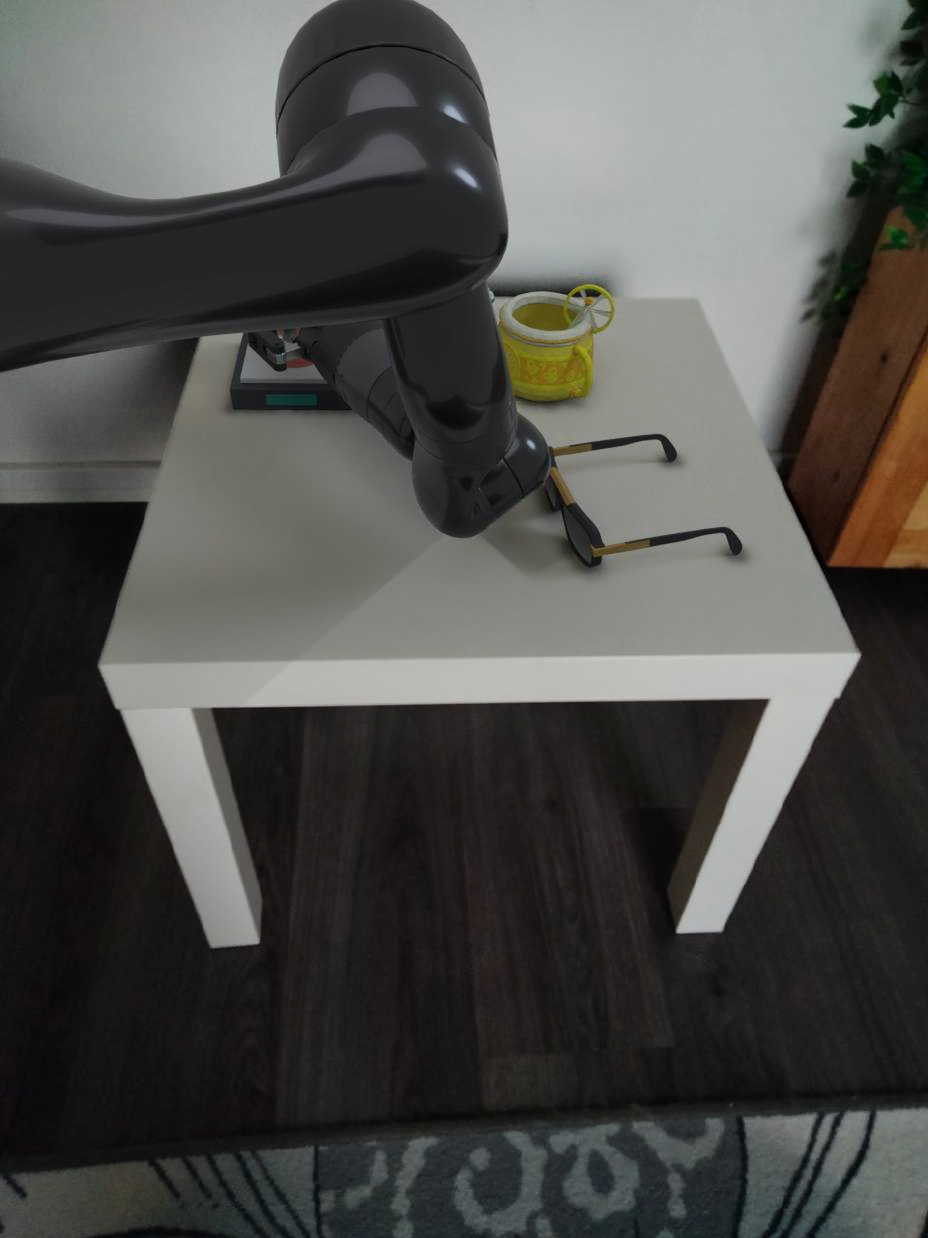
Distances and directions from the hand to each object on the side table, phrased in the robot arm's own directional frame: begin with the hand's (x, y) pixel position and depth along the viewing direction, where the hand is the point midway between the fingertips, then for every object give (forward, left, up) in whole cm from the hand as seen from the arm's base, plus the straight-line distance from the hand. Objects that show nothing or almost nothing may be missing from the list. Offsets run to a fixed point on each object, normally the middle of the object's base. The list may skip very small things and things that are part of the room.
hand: (295, 292), depth 86 cm
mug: (+17, -19, -11) cm, 28 cm away
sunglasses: (+4, -37, -11) cm, 39 cm away
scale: (+1, +2, -10) cm, 11 cm away
